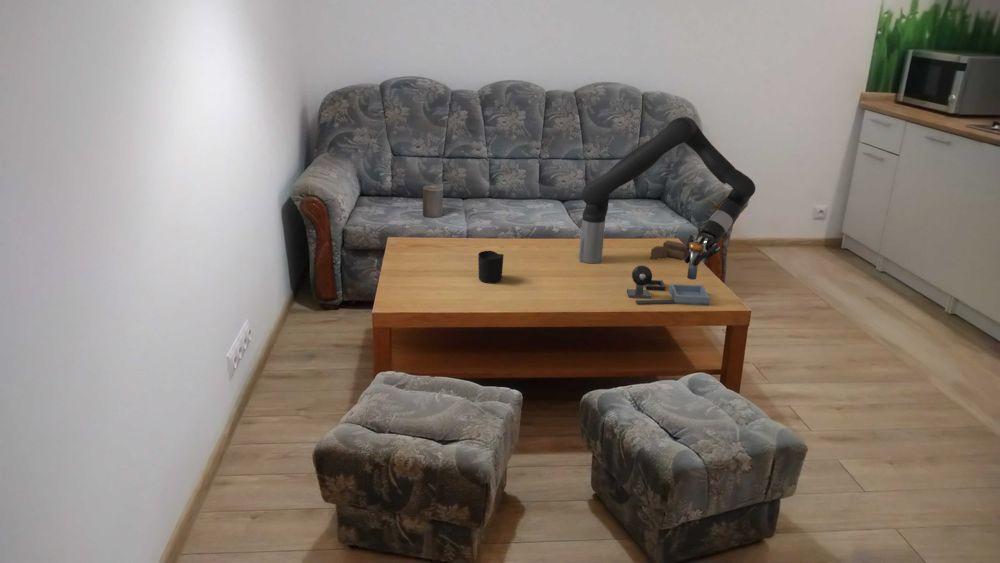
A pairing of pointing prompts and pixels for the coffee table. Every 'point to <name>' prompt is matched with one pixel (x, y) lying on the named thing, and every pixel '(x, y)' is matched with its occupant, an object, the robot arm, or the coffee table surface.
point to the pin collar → (655, 282)
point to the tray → (689, 294)
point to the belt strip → (654, 302)
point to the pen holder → (490, 266)
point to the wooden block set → (669, 250)
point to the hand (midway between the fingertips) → (689, 263)
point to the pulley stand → (640, 282)
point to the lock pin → (695, 251)
